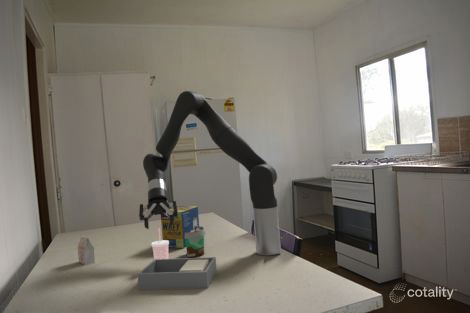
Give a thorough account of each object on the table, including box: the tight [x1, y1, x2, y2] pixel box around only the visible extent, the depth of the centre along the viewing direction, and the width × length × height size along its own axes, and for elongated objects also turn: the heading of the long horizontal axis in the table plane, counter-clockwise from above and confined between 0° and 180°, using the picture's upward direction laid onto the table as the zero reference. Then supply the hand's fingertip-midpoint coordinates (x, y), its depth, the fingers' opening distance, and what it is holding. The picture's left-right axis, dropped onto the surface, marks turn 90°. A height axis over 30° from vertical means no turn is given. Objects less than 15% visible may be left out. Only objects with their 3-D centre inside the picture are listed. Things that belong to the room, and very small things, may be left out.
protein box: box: [160, 205, 200, 249], centre depth 154 cm, size 10×15×16 cm
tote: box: [136, 256, 218, 291], centre depth 106 cm, size 21×14×6 cm, turn 82°
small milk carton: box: [77, 235, 96, 266], centre depth 136 cm, size 4×7×10 cm, turn 43°
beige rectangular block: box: [179, 259, 209, 272], centre depth 105 cm, size 7×10×4 cm
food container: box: [185, 225, 207, 258], centre depth 135 cm, size 12×6×10 cm, turn 168°
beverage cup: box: [151, 227, 170, 260], centre depth 122 cm, size 6×6×14 cm
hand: (159, 226), depth 128 cm, fingers open, 8 cm apart
